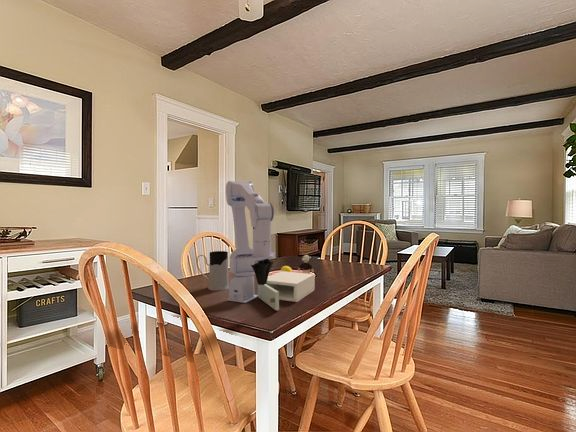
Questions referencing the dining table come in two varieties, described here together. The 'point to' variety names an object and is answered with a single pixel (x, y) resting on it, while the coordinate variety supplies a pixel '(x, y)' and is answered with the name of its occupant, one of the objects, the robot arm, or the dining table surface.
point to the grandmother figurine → (306, 265)
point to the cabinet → (292, 285)
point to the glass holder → (217, 270)
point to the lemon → (286, 269)
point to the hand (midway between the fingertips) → (262, 284)
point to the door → (269, 296)
